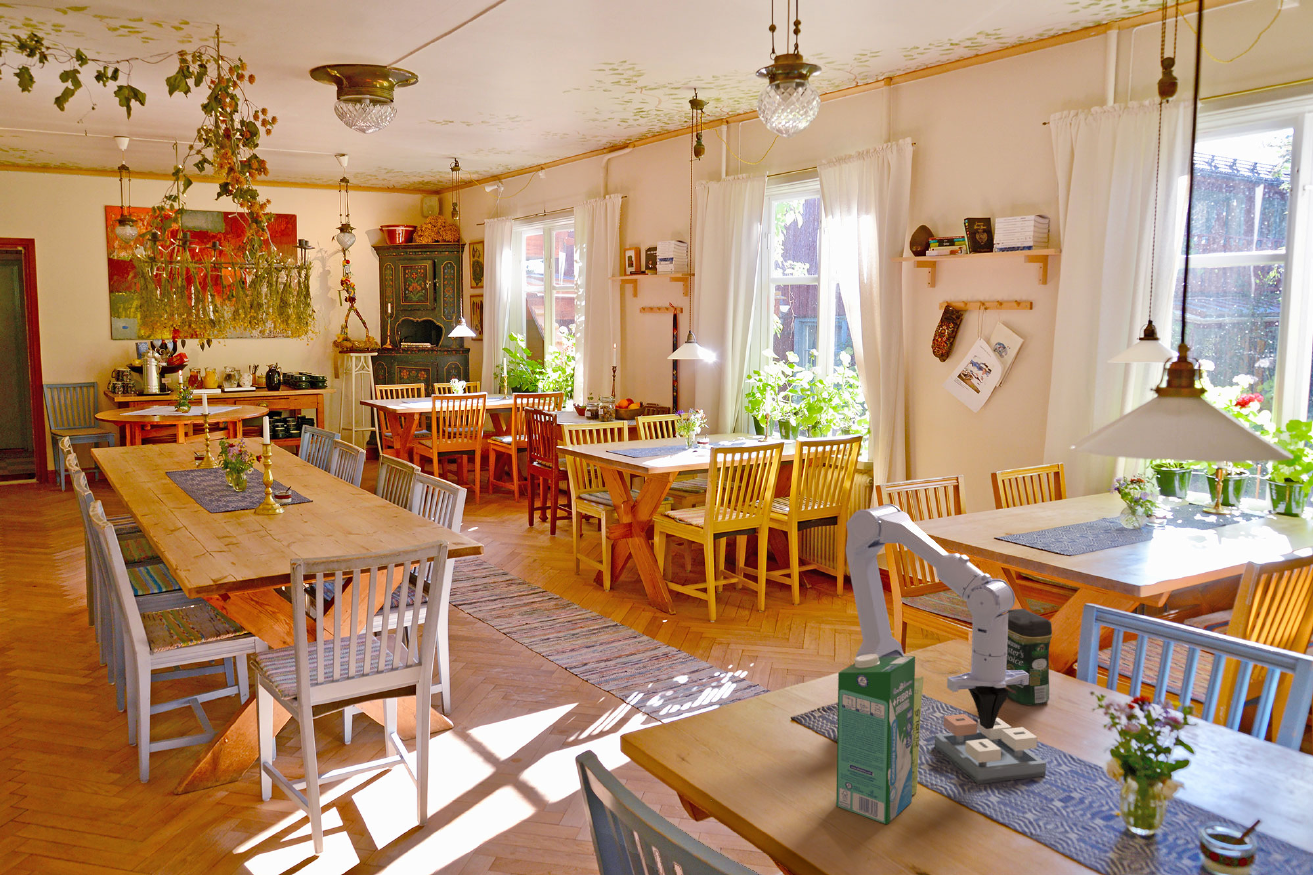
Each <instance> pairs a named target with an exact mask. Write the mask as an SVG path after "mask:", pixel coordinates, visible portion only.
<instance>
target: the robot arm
mask: <svg viewBox="0 0 1313 875" xmlns="http://www.w3.org/2000/svg"><path fill="white" fill-rule="evenodd" d="M846 530H847V534H848V535H847V540H846V545H845V546H846V547H845V555H846V559H847V564H848V569H849V575H850V579H851V580H850V581H851V585H852V590H853V595H854V601H855V605H856V606H855V607H856V611H857V616H858V621H859V626H860V631H861V637H862V642H861V644H860V646H859V648H858V650H857V652H856V654H855V658H856V657H858V656H861V655H866V654H877V655H878V657H904V656H906V655H905V654H904V651H903V647H902V644H901V643H900V641H899V640H897V639H896V638H894V637H893V636H892V630H891V625H890V624H891V623H890V620H889V614H888V610H887V605H886V599H885V594H884V589H883V582H882V579H881V575H880V569H879V564H878V559H877V556H878V554H879V552H881V551H882V549H883V548H884V546H885V545H886V544H901V545H902V546H904V548H906V549H908V550H910V551H911V552H912V553H913V554H915V555H916V556H918V557H919V558H920V559H922V560H923V561H925V562H926V563H928V564H929V565H930V566H932V567H933V568H935V571H936V577H937V579H938V580H939V581H941V582H942V583H943V584H944V585H945V586H947V587H948V588H949V589H950V590H952V591H953V592H954V593H955V594H957V595H958V596H960V597H961V599H963V600H964V601H965V602H966V607H967V609H968V611H969V612H970V614H971V617H972V619H971V620H972V621H971V624H972V633H971V634H972V636H971V665H970V671H968V672H964V673H961V674H960V673H959V674H957V675H955V676H954V675H953V676H948V677H947V681H946V688H947V689H949V690H950V691H951V692H952V693H956V692H959V691H960V690H968V692H969V694H970V695H971V697H972V700H973V702H974V705H975V708H976V711H977V715H978V720H980V725H981V726H983V727H984V728H985V729H993V727H994V724H995V721H996V718H998V716H999V712H1000V710H1001V708H1002V706H1003V704H1004V703H1005V702H1006V701H1007V699H1008V698H1009V697H1008V696H1009V691H1008V690H1007V689H1006V688H1005V687H1006V685H1012V684H1022V685H1028V684H1029V674H1028V673H1026V672H1025V671H1023V670H1006V665H1007V639H1008V613H1007V612H1008V611H1009V610H1012V608H1013V607H1014V606H1015V601H1016V595H1015V592H1014V590H1013V588H1012V587H1011V586H1010V585H1009V584H1008V583H1007V581H1005V580H1003V579H1001V578H992V576H991V575H990V574H989V573H984V572H983V570H980V569H979V568H978V567H977V566H975V565H974V564H973V563H972V562H970V558H969V557H968V556H967V555H966V554H960V553H958V552H957V553H956V552H955V553H948V552H947V551H946V550H945V549H944V548H942V547H941V546H940V545H939V544H938V543H936V541H935V540H934V539H932V538H931V537H930V536H929V535H928V534H926V533H925V531H923V530H922V529H921V528H920V527H919V526H918V525H916V523H914V522H913V521H912V518H911V517H910V515H909V513H907V512H905V511H902V509H900V507H899V506H897V505H895V504H892V503H885V504H883V505H880V506H876V507H870V508H868V509H859V510H856V511H855V512H854V513H853V514H852V515H851V517H850V518H849V520H847V521H846Z"/></svg>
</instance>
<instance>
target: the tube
mask: <svg viewBox="0 0 1313 875" xmlns="http://www.w3.org/2000/svg"><path fill="white" fill-rule="evenodd" d="M923 687H924V676H919V677H915V685H914V723H913V762H912V796H913V795H915V794H916V793H917V791H918V778H919V777H918V775H919V774H918V773H919V753H920V752H919V750H920V732H921V731H920V729H921V727H920V726H921V713H922V701H923V700H922V699H923V689H924V688H923Z"/></svg>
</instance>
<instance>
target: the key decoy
mask: <svg viewBox="0 0 1313 875" xmlns="http://www.w3.org/2000/svg"><path fill="white" fill-rule="evenodd" d="M943 727H944V728H945V729H946V730H947V731H948V732H949V733H952V734H954V735H955V736H956V741H957V742H964V735H972V734H977V730H978V722H976V721H975V720H973V719H972V718H971V717H970V716H968V715H966V714H965V713H961V714H953V715H952V714H951V715H944V716H943Z"/></svg>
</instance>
